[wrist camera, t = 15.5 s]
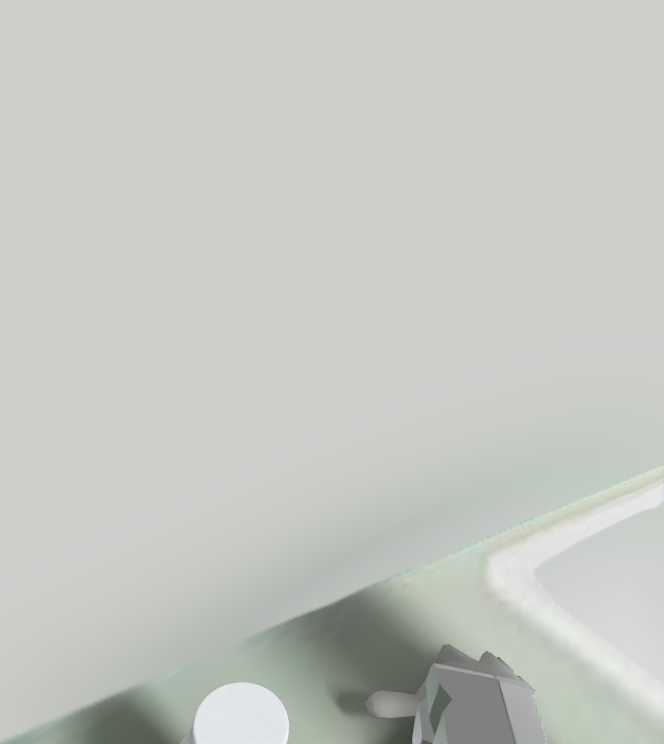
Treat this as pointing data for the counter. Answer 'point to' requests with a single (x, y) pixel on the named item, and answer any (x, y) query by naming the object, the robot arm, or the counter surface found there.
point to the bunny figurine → (407, 704)
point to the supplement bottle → (239, 717)
